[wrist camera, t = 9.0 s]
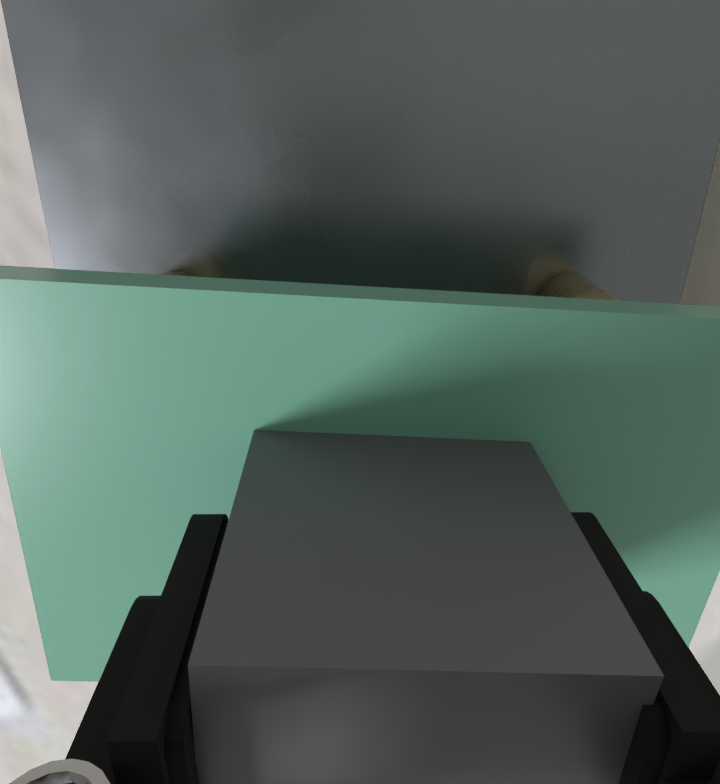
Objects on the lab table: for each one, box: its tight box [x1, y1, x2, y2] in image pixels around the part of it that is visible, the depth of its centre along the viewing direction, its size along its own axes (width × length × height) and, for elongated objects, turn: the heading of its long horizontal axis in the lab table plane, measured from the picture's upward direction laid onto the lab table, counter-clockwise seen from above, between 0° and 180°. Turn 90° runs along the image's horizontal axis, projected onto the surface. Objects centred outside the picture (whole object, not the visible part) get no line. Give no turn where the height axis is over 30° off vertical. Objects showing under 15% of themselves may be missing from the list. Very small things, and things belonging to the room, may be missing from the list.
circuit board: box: [0, 266, 720, 784], centre depth 10 cm, size 14×9×6 cm, turn 86°
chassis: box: [1, 0, 720, 304], centre depth 15 cm, size 20×16×5 cm
